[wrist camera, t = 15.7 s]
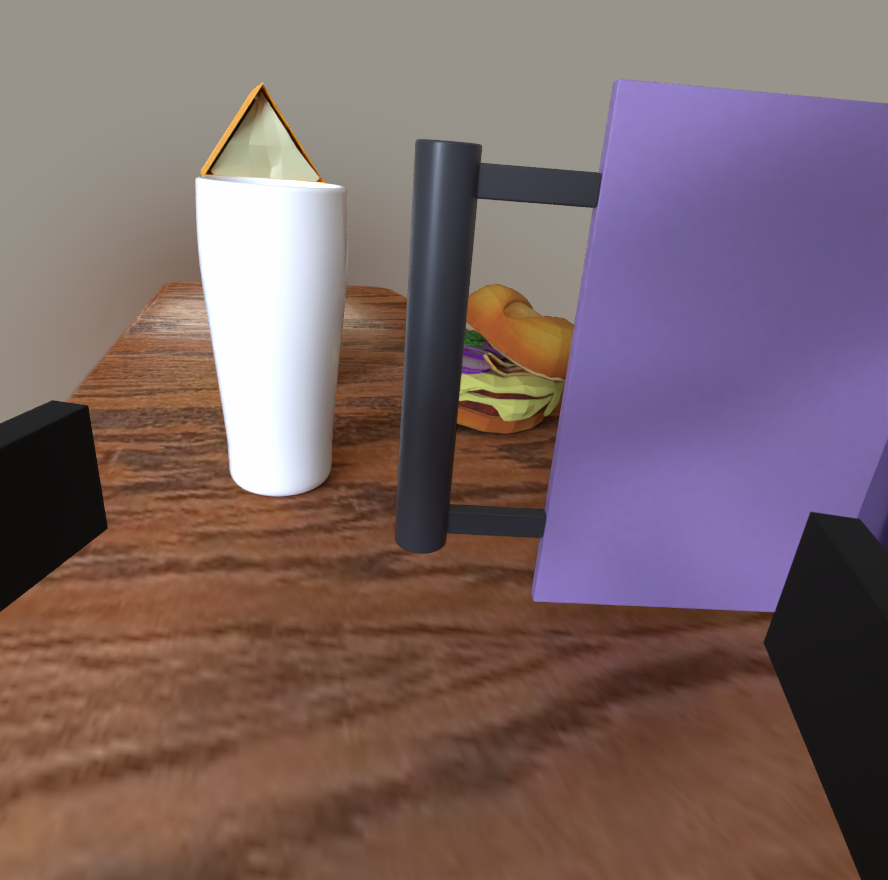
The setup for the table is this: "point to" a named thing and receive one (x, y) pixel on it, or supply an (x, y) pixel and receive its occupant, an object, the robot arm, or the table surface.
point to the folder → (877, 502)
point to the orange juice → (260, 145)
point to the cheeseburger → (511, 362)
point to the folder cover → (675, 345)
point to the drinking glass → (275, 322)
